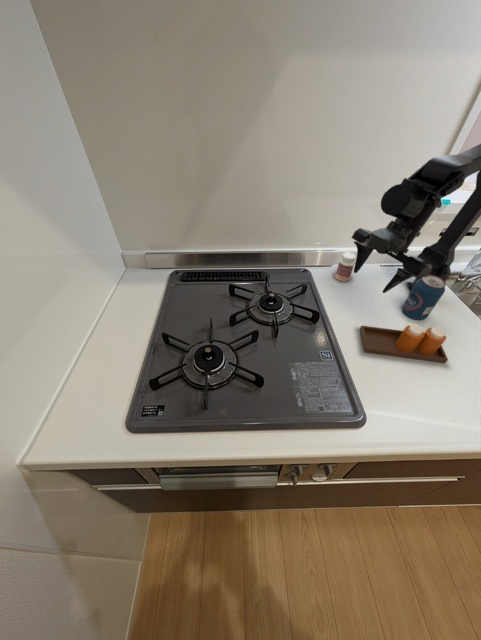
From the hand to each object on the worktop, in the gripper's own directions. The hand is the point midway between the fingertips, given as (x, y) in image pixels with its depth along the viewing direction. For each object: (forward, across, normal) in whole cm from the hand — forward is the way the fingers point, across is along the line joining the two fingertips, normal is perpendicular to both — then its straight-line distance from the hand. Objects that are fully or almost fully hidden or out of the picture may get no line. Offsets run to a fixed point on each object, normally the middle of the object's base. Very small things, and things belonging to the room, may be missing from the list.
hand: (368, 282), depth 70 cm
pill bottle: (+8, -16, +17) cm, 25 cm away
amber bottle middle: (+10, +14, +8) cm, 19 cm away
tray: (+11, +13, +8) cm, 19 cm away
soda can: (+6, +7, +21) cm, 23 cm away
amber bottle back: (+9, +17, +12) cm, 23 cm away
